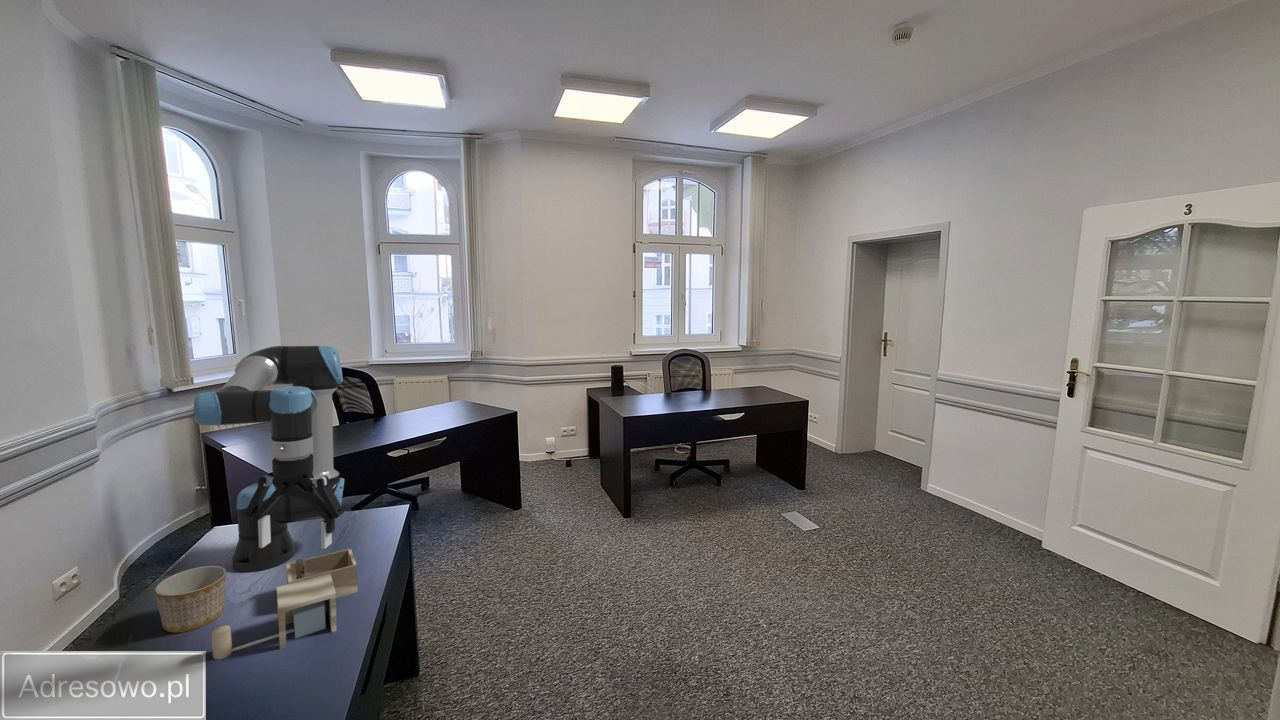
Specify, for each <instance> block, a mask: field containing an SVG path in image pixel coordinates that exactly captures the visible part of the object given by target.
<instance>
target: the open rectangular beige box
mask: <svg viewBox="0 0 1280 720" xmlns="http://www.w3.org/2000/svg"><path fill="white" fill-rule="evenodd" d="M353 553H354V552H353V551H352V548H351V547H350V548H346V549H342V550H338V551H333V552H329V553H326V554H321V555H317V556H313V557H308V558H304V559H303V560H304V561H305V563H306V573H305V578H301V579H297V580H296V569H295V565H296V561H291V562H287V563H285V565H286V566H285V569H286V572H285V573H286V585H287V584H291V583H294V582H298V581H302V580H306V579H310V578H314V577H317V576H321V575H325V574H329V573H331V577H332V581H333V585H334V588H335V592H336V599H338V598H341V597H345V596H348V595H352V594H355V593H358V590H359V589H358V588H359V587H358V564H357V561H356V559H355V556H354V554H353Z"/></svg>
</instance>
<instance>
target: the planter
mask: <svg viewBox="0 0 1280 720" xmlns="http://www.w3.org/2000/svg"><path fill="white" fill-rule="evenodd" d="M226 580H227V570H226V568H224V567H223V566H218V565H207V566H198V567H194V568H193V567H192V568H190V569H186V570H183V571H180V572H178V573H175V574H173V575H171V576H168V577H167V578H165V579H163V580H162V581H160V582H159V583H158V584H157V586H155V590H154V591H155V597H156V601H157V607H158V611H159V615H160V621H161V625H162V628H163V630H164V631H166V632H168V633H173V634H174V633H175V634H177V633H178V634H179V633H185V632H189V631H193V630H196V629H200V628H202V627H204V626H207V625H209V624H210V623H212V622H214V621H215V620H217V619H218V618H219V617H220V616H221V615H222V613H223V612H224V608H225V594H226V593H225V592H226Z"/></svg>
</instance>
